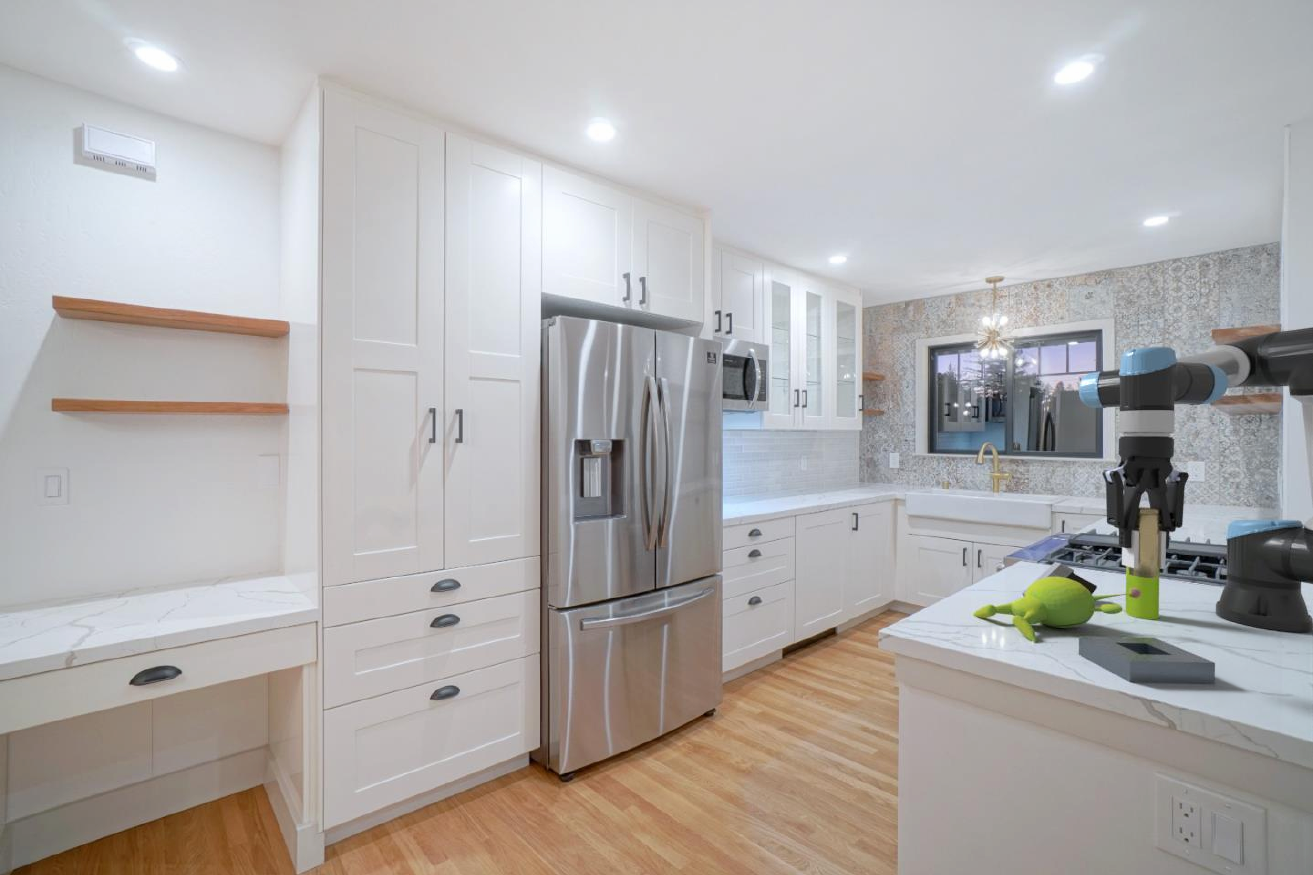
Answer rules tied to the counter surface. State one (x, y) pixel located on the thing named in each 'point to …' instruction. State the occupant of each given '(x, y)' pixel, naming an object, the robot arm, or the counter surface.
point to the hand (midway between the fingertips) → (1143, 566)
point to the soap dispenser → (1143, 596)
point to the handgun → (1066, 576)
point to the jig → (1146, 660)
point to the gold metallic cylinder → (1147, 543)
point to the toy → (1053, 605)
